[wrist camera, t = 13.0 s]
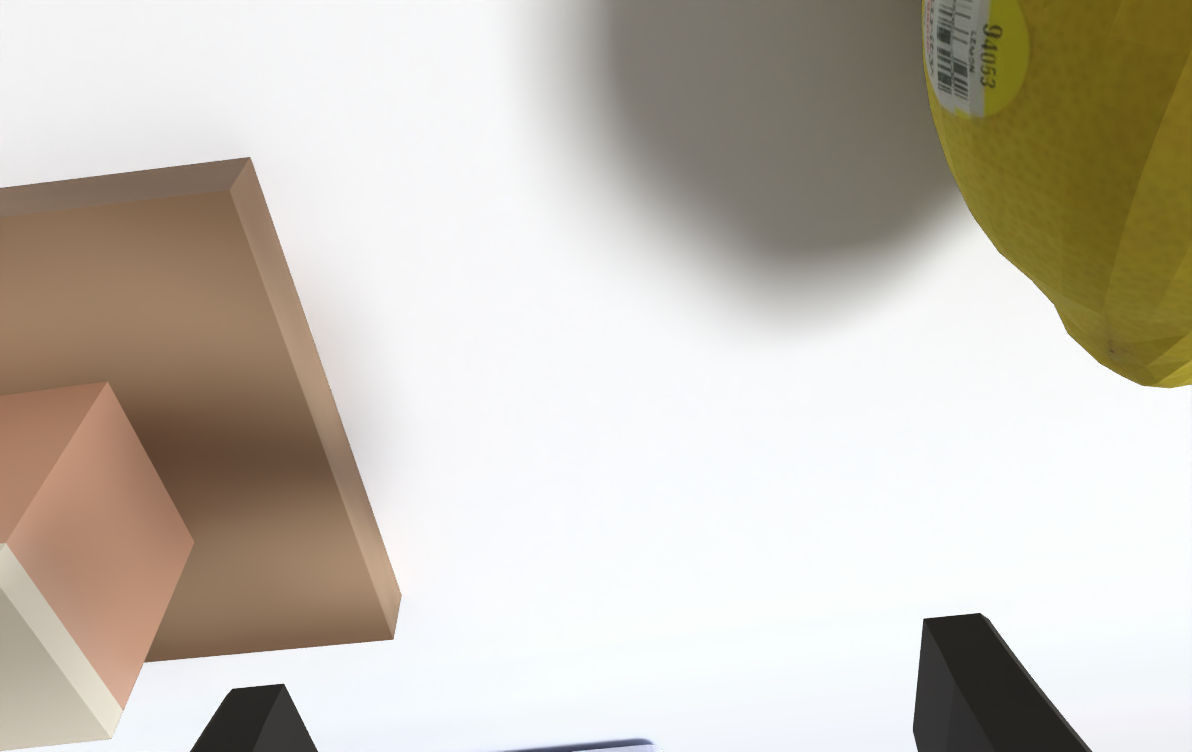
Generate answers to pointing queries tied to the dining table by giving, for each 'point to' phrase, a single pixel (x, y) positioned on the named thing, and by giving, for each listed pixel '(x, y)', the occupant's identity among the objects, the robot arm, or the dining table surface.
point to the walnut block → (203, 396)
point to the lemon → (1078, 160)
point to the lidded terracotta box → (78, 563)
